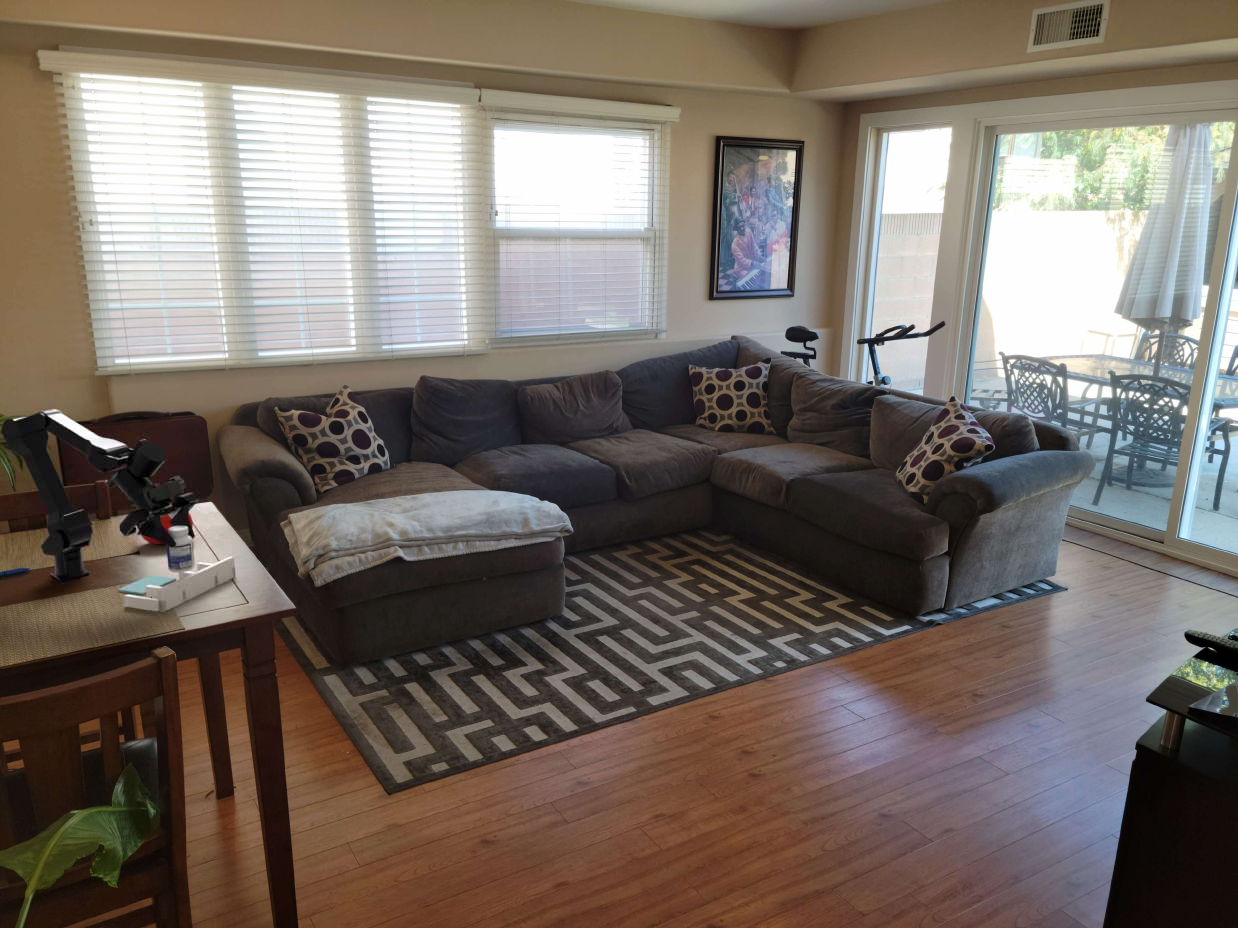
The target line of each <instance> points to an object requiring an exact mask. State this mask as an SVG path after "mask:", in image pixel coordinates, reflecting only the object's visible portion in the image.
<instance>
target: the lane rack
mask: <svg viewBox="0 0 1238 928" xmlns="http://www.w3.org/2000/svg"><path fill="white" fill-rule="evenodd" d="M196 566H197V567H196V568H197V571H191V570H190V571H187V572H179V573H178V579H177V580H176V581H173V582H171V583H169V584H167V585H165V586H162V587H160V586H153V585H147V586H145V587H146V594H145V595H146V596H144V595H137V594H130V593H126V594H125V595H124V598H123V599H124V606H125V608H131V609H138V610H145V611H151V610H152V611H153V612H157V611H160V612H159V613H164V611H165V612H167V611H168V610H171V609H173V608H175V607H176V606H178V605H181V604H183V603H184V602H187V601H189V600H191V599H194V598H196V597H197V596H199V595H201V594H203V593H206V592H207V591H210V590H212V589H213V588H215V587H218V586H219V585H222V584H223V583H226V582H227V581H229V580H232V579H234V578H236V569H235V568H236V567H235V566H236V564H235V556H229V557H226V558H224V559H222V560H220V561H217V562H215V563H208V562H201V561H199V562H197V563H196ZM151 597H152V598H151ZM166 610H167V611H166Z"/></svg>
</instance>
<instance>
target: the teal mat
mask: <svg viewBox="0 0 1238 928" xmlns="http://www.w3.org/2000/svg"><path fill="white" fill-rule="evenodd" d="M175 581H177V578H175V577H171V576H170V577H169V576H163V575H154V574H150V575H148V576H146V577H144V578H141V579H139V580H137V581H134V582H132V583H130V584H128V585H125V586H123V587H121V588H118V589H117V591H118V593H119V592H120V593H126V594H131V595H137V596H144V595H146V587H145V586H147V585H153V586H160V587H165V586H167V585H169V584H171V583H173V582H175Z"/></svg>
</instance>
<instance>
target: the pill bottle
mask: <svg viewBox="0 0 1238 928" xmlns="http://www.w3.org/2000/svg"><path fill="white" fill-rule="evenodd" d="M168 532H169V534H170V535H171V536H172V538H173V539H174V541H175V542H176V545H175V546H174V547H171V546H169V545H167V544H165V545H166V555H167V556H166V557H167V567H168V571H169V572H171V573H178V574H179V572H187V571H190V572H191V571H192V570H193V569H195V567H196V566H195V554H194V553H195V552H194V544H193V543H194V541H193V539H192V537H191V536H189V535H187V534H188V527H187V526H174V527H171V528H169V529H168Z"/></svg>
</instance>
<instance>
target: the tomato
mask: <svg viewBox="0 0 1238 928" xmlns="http://www.w3.org/2000/svg"><path fill="white" fill-rule="evenodd" d="M171 504H172V503H169V505H171ZM188 516H189V520H190V523H191V526H192V529H194V528H193V527H194V522H193V518H192V515H191V513H190V511H189V512H188ZM171 519H172V518H171V517H170V516H169V515H165V516H162V517H161V523H162V525H163V526H164V528H165V529H166V530H167V531H168V529H169V528H171V527H174V526H173V525H171V524H170V523H169V522H170V521H171ZM136 529H137V530H138V531H137V532H139V528H138V526H136ZM168 533H169V532H168ZM140 536H141V537H142V539H143V540H145V541H146V542H148V543H151V544H156V545H161V544H162V545H163V544H164V543H162V542H160V541H157V540H155V539H152V538H149V537H146V536H143V535H140ZM164 545H165V544H164Z"/></svg>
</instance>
